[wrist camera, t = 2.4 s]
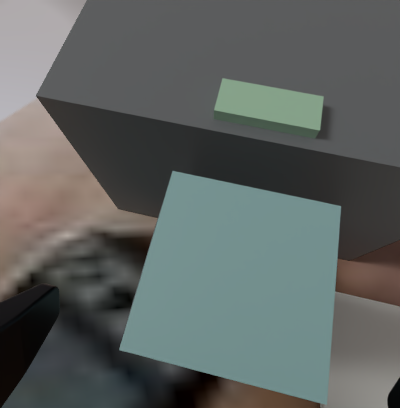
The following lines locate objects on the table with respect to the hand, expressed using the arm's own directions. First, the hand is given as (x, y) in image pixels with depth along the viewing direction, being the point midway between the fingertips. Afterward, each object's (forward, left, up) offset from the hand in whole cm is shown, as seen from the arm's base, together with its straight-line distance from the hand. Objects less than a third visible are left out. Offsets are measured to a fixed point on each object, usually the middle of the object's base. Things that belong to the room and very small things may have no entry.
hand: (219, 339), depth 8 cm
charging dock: (+6, 0, -9) cm, 11 cm away
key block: (+1, 0, -9) cm, 9 cm away
